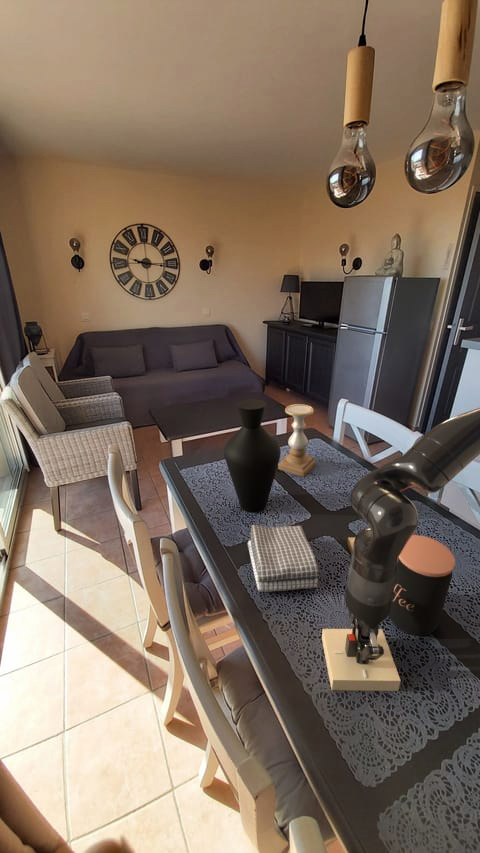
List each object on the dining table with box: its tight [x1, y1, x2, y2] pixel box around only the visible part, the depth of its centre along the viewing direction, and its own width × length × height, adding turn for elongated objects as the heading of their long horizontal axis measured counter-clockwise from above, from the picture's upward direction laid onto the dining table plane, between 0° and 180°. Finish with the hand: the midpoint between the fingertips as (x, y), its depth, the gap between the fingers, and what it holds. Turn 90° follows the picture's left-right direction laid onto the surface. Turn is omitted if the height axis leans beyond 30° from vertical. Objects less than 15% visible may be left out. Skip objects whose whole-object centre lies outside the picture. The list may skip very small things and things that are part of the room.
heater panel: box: [321, 628, 401, 692], centre depth 69 cm, size 12×10×3 cm
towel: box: [247, 524, 320, 593], centre depth 92 cm, size 15×18×8 cm
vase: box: [223, 398, 282, 514], centre depth 110 cm, size 17×17×35 cm
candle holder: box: [277, 403, 317, 478], centre depth 134 cm, size 11×11×24 cm
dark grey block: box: [345, 634, 369, 657], centre depth 68 cm, size 5×2×4 cm, turn 88°
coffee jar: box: [388, 534, 456, 637], centre depth 75 cm, size 11×11×18 cm
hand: (359, 651), depth 69 cm, fingers open, 3 cm apart
